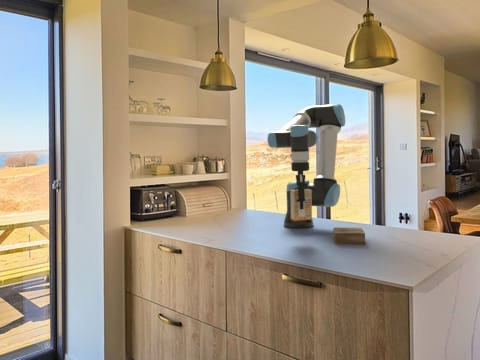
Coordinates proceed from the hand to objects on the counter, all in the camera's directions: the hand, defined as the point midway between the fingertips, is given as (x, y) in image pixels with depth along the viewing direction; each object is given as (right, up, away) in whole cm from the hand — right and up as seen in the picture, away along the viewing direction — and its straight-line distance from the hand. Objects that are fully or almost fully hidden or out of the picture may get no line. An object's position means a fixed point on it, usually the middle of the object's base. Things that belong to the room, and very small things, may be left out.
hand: (301, 215), depth 174 cm
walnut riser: (+20, -11, -2) cm, 23 cm away
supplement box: (0, -2, 0) cm, 2 cm away
